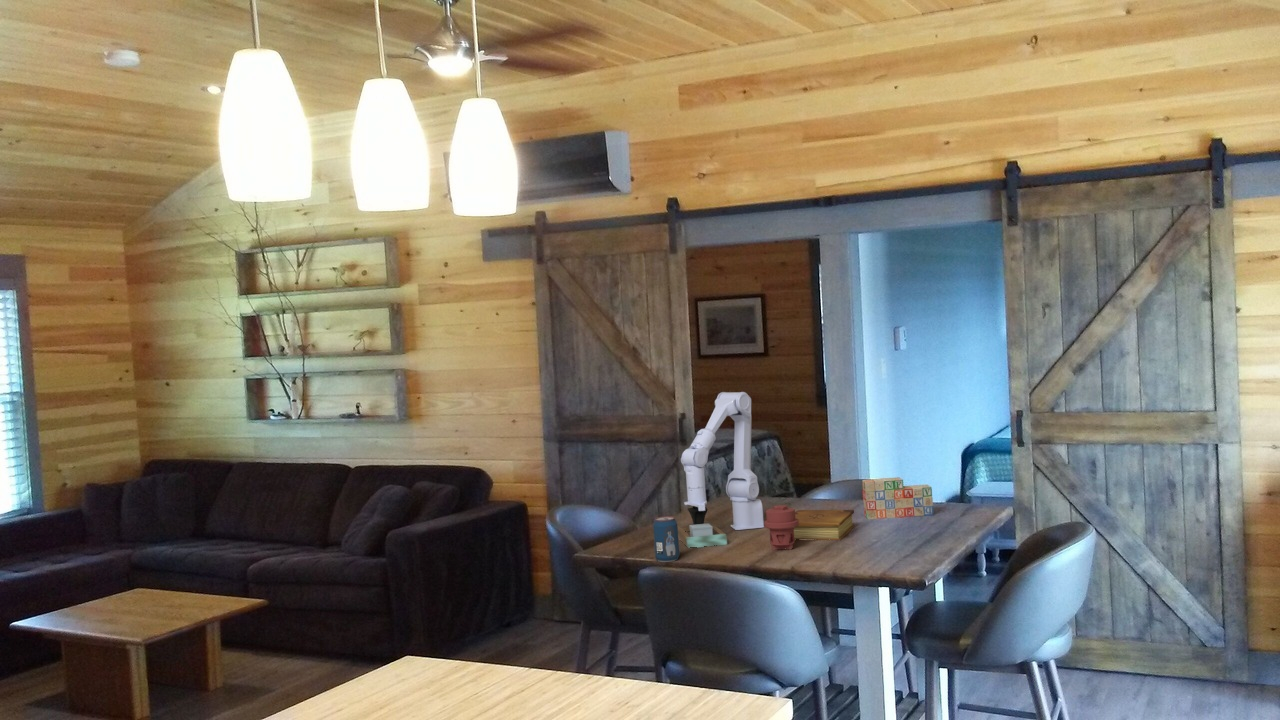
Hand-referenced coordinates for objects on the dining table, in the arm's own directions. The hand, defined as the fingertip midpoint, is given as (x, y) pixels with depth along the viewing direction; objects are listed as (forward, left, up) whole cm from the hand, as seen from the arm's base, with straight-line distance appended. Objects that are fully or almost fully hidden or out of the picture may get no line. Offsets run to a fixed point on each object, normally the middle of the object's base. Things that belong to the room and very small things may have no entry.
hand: (699, 530), depth 350 cm
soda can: (+14, +26, -3) cm, 29 cm away
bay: (0, -2, -3) cm, 4 cm away
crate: (0, +4, -3) cm, 5 cm away
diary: (-36, +8, -3) cm, 37 cm away
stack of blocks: (-68, -8, -3) cm, 68 cm away
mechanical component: (-20, +26, -3) cm, 32 cm away
